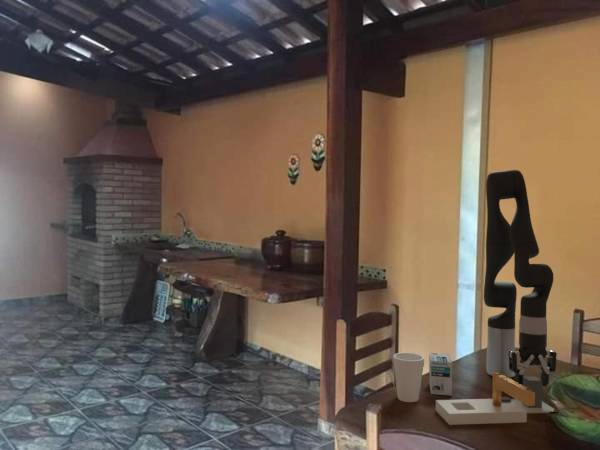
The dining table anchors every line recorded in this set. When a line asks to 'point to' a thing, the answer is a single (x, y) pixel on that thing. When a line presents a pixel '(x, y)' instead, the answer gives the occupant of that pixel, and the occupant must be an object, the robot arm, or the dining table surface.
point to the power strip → (480, 411)
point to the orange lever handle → (511, 390)
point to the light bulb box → (440, 374)
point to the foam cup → (408, 375)
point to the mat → (544, 408)
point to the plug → (534, 389)
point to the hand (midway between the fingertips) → (531, 385)
